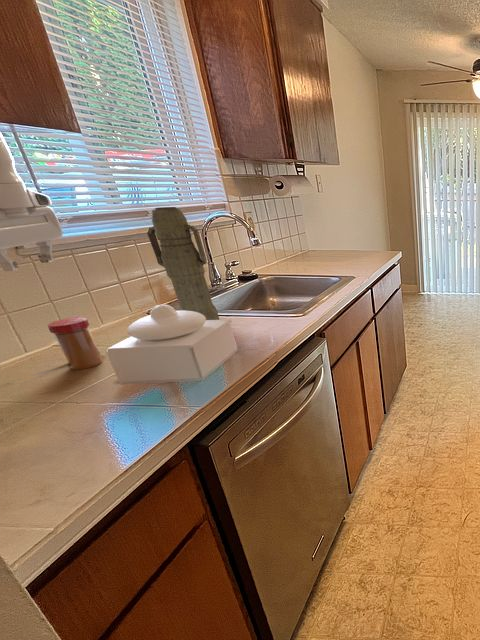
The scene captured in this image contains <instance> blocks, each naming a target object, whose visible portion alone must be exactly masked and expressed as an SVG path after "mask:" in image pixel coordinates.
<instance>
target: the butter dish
mask: <svg viewBox="0 0 480 640" xmlns="http://www.w3.org/2000/svg"><path fill="white" fill-rule="evenodd" d="M149 313H150V314H149V315H146V316H143V317H140V318H138V319H137V320H135V321H133V322H132V323H130V325H129V326H128V327H127V329H126V332H127V334H128V336H129V337H127V338H125V339H123V340H121V341H119V342H117V343H115V344H113V345H111V346H110V347H108V348H106V349H107V350H106V351H105V354H106V355H107V357H108V360H109V362H110V365H111V367H112V369H113V371H114V374H115V376H116V379H117V380H118V383H119V384H120V385H121V386H127V385H147V384H165V383H166V384H168V383H186V382H188V383H189V382H204V380H206V379H207V378H208V377H209V376H210V375H211V374H213V373H214V372H215V371H216V370H217V369H218V368H220V367H221V366H222V365H223V364H225V362H227V361H228V360H229V359H230V358H231V357H233V356H234V355H235V354H236V353H238V352H239V349H238V345H237V342H236V339H235V336H234V332H233V328H232V325H231V323H232V319H231V318H228V319H227V318H225V319H220V320H206V317H205V316H204V315H202V314H201V313H198V312H194V311H184V310H181V309H180V310H176V309H175V308H174V307H173V306H171V305H169V304H167V303H166V304H163V303H160V304H157V305H155V306H153V307H152V309H150V312H149Z"/></svg>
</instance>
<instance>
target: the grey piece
mask: <svg viewBox="0 0 480 640" xmlns="http://www.w3.org/2000/svg"><path fill="white" fill-rule="evenodd" d="M151 223H152V227H149V228H148V230H147V233H146V234H147V237H148V240H149V242H150V244H151V247H152V250H153V252H154V254H155V258H156V261H157V264H158V265H159V266H161V267H163V268H164V270H165V273H166V276H167V277H168V278H169V279H170V281H171V285H172V287H173V290H174V293H175V295H176V299H177V302H178V305H179V308H180V311H181V310H184V311H194V312H198V313H201V314H202V315H204V316H205V317H206V320H221V319H220V316H219V313H218V310H217V307H216V306H215V305H214V303H213V301H212V297H211V294H210V291H209V288H208V284H207V281H206V277H205V272H206V271H205V268H204V265H207V264H208V262H207V261H208V260H207V257H206V253H205V250H204V246H203V242H202V239H201V236H200V232H199V230H198V229H197V227H195V225H191V224H189V223H188V219H187V218H186V216H185V214H184V213H183V211H182V210H181V208H178V207H176V206H163V207H161V206H160V207H154V209H151ZM191 232H192V233H193V236H194V240H195V243H196V245H195V243H194V242H193V239H192V238H193V236H192V233H191ZM196 246H197V247H196Z"/></svg>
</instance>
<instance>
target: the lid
mask: <svg viewBox="0 0 480 640" xmlns="http://www.w3.org/2000/svg"><path fill="white" fill-rule="evenodd" d="M89 326H90V322H89V321H88V319H87V317H84V316H77V317H76V316H75V317H68V318H62V319H58V320H55V321H51V322H49V323H48V324H47V327H48V330H49V332H50V333H51V334H54V333H56V334H57V333H68V332H73V331H78V330H81V329H84V328H86V327H88V328H89Z"/></svg>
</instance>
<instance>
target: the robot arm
mask: <svg viewBox="0 0 480 640" xmlns="http://www.w3.org/2000/svg"><path fill="white" fill-rule="evenodd" d="M15 167H16V166H15V159H14V157H13V154H12V153H11V150H10V148H9V146H8V144H7V142H6V140H5V138H4V136H3V134H2V132H0V266H1V268H2V270H3V271H4V272H14V271H18V270H19V269H20V267H19V266H18V263H17V261H13V260H12V259H10V258H9V257H8V256H7V255H8V251H7V250H6V249H10V248H11V249H12V248H16V247H22V246H28V245H32V244H33V245H34V244H35V245H36V246H37V247H39V254H37V258H38V259H39V261H40V263H43V264H44V263H47V264H48V263H52V262H54V261H55V260H54V256H53V244H52V241H54V240H61V239H62V238H63V229H62V226H61V222H60V220H59V219H58V216H57V214H56V212H55V210H54V209H53V208H52V207H51V206H52V200H51V198H50V197H49V195H46V194H43V193H40V192H37V191H34V190H32V189H30V188H27V187H26V185H25V183H24V180H23V179H22V178H21V177H20V175H19V174H18V173H17V170H16V168H15Z"/></svg>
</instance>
